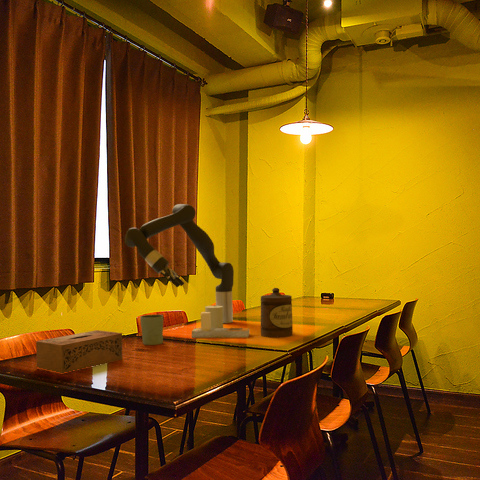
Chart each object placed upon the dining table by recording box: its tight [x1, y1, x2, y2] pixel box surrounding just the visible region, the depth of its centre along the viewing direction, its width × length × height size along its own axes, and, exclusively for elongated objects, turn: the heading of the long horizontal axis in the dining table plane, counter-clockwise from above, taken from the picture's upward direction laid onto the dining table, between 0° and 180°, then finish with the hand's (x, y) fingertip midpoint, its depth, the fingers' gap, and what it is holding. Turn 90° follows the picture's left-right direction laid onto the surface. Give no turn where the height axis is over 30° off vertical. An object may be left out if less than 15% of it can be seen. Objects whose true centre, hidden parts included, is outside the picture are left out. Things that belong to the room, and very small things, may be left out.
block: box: [200, 311, 211, 331], centre depth 225 cm, size 4×4×11 cm
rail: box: [191, 327, 250, 339], centre depth 224 cm, size 8×26×3 cm, turn 84°
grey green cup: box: [139, 313, 164, 346], centre depth 210 cm, size 10×10×12 cm
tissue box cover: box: [35, 330, 123, 373], centre depth 172 cm, size 26×14×10 cm, turn 145°
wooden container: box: [260, 287, 294, 338], centre depth 225 cm, size 15×15×22 cm
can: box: [204, 304, 224, 328], centre depth 243 cm, size 9×9×12 cm
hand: (180, 285), depth 226 cm, fingers open, 8 cm apart
